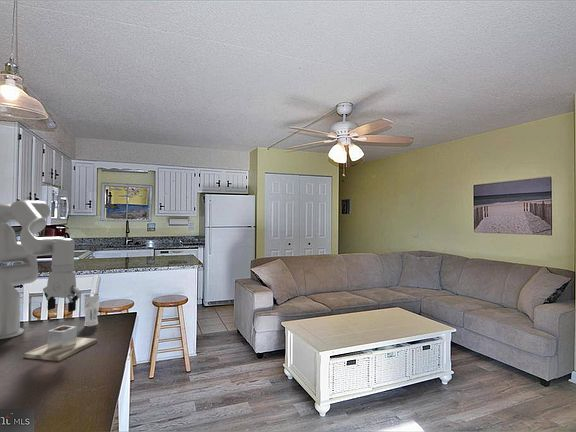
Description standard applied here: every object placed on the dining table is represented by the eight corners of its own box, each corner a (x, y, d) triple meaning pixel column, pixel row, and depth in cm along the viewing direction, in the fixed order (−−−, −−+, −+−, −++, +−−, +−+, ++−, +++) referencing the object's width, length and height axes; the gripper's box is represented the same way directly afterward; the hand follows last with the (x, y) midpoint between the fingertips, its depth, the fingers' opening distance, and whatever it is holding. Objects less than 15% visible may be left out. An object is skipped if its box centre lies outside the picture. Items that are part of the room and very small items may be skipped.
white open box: (47, 348, 134) (47, 330, 134) (62, 342, 140) (62, 325, 141) (62, 349, 132) (62, 332, 132) (76, 343, 139) (76, 326, 139)
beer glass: (86, 328, 163) (87, 297, 163) (80, 325, 167) (81, 295, 167) (101, 324, 168) (102, 294, 168) (95, 321, 172) (95, 292, 172)
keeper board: (23, 357, 128) (23, 336, 128) (64, 339, 147) (65, 321, 147) (59, 360, 126) (59, 339, 126) (96, 342, 144) (97, 323, 144)
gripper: (36, 268, 134) (35, 310, 135) (73, 271, 131) (72, 314, 131) (52, 265, 142) (51, 305, 142) (88, 268, 139) (87, 309, 139)
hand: (61, 310), depth 137 cm, fingers open, 9 cm apart
